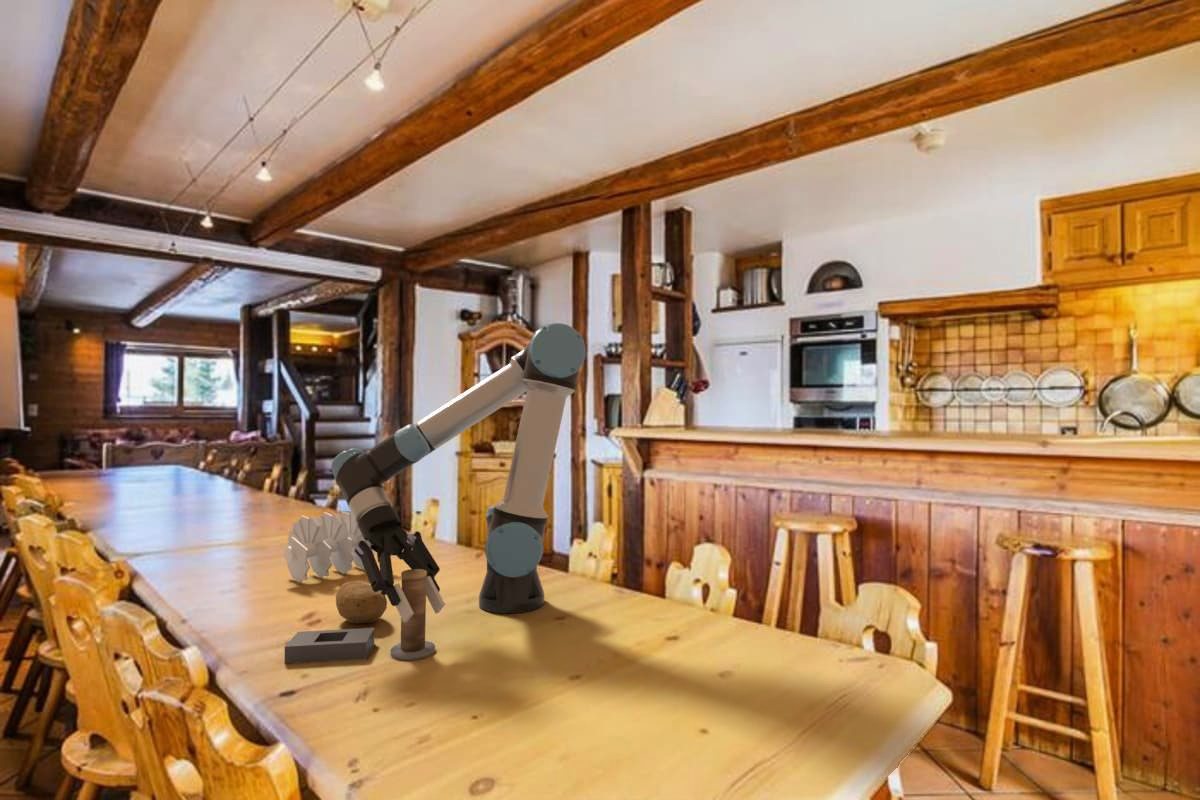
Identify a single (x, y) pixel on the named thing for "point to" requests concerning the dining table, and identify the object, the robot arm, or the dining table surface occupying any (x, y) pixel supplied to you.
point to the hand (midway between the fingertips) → (424, 613)
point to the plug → (414, 610)
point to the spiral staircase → (323, 545)
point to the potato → (360, 602)
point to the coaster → (403, 655)
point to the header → (329, 645)
